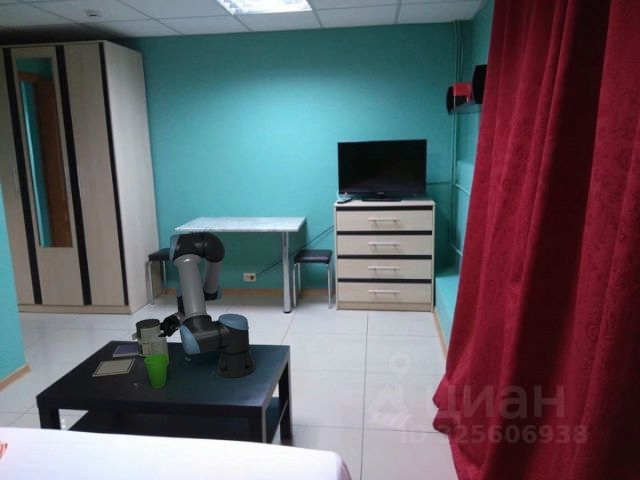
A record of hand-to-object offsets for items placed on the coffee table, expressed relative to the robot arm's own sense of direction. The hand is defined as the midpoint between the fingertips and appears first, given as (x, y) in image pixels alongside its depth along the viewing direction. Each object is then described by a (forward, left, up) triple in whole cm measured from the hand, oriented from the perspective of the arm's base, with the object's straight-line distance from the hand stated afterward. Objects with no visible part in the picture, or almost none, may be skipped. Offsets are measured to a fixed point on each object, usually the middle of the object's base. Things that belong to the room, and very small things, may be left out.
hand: (142, 338), depth 203 cm
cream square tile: (-6, +11, -9) cm, 16 cm away
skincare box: (-9, -8, -10) cm, 16 cm away
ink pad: (+11, +9, -9) cm, 17 cm away
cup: (-27, -10, -10) cm, 31 cm away
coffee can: (+4, -2, -8) cm, 9 cm away
